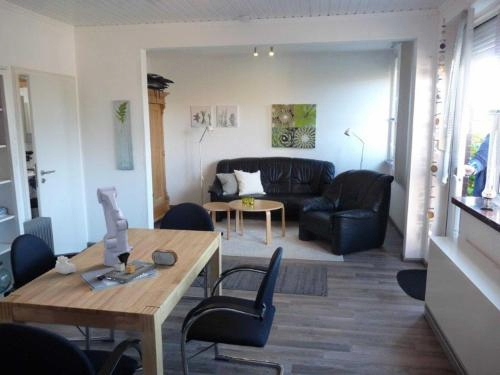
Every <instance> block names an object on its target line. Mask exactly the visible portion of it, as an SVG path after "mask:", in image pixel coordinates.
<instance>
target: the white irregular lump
mask: <svg viewBox="0 0 500 375" xmlns="http://www.w3.org/2000/svg"><path fill="white" fill-rule="evenodd" d="M57 261H58V262H57V263H55V269H56V270H57V272H58V273H59V274H61V275H67V274H71V273H75V272H76V271H77V267H76V265H75V264H74V263H72V262H68V257H67V256H64V255H60V256H57Z"/></svg>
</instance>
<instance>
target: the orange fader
mask: <svg viewBox="0 0 500 375" xmlns="http://www.w3.org/2000/svg"><path fill="white" fill-rule="evenodd" d="M133 272H135V266H134V265H131V264H129V265H127V266H126V273H133Z"/></svg>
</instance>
